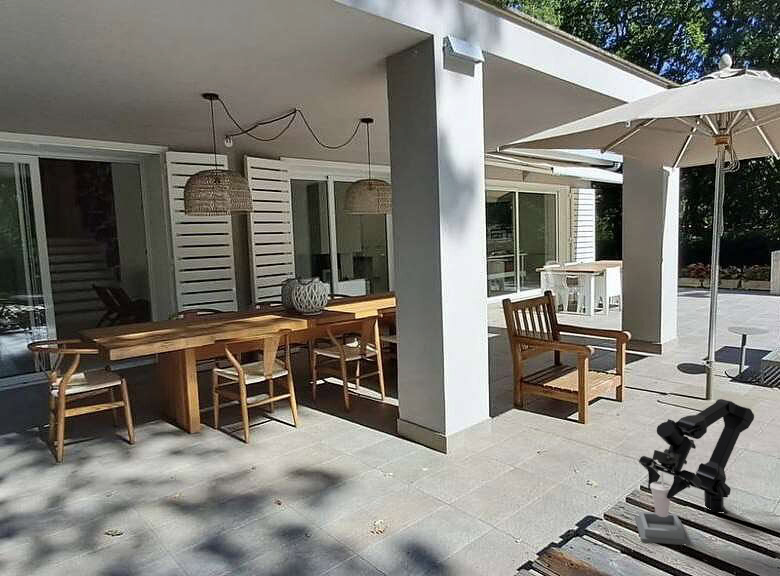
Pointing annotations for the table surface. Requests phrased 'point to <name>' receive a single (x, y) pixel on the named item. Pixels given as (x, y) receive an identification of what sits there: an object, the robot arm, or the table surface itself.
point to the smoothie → (661, 497)
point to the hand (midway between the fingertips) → (658, 494)
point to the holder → (661, 529)
